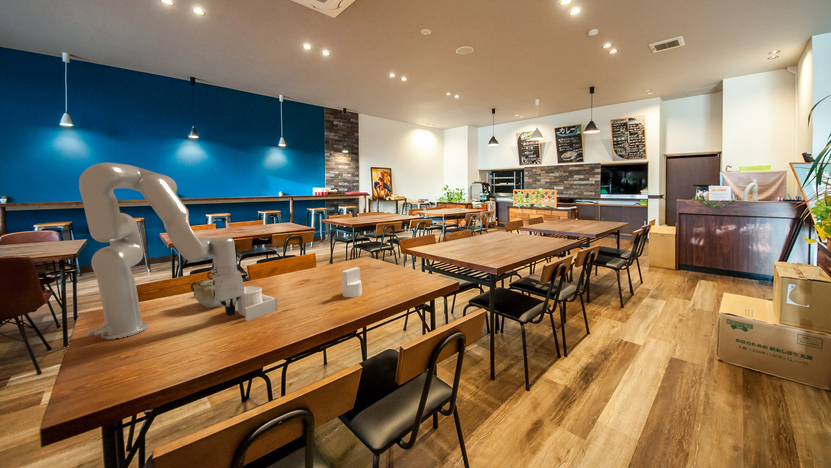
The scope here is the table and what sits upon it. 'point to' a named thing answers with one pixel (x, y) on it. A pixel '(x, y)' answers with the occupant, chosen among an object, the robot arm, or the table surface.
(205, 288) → the sugar bowl
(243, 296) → the cup
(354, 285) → the base with upright slab
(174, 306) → the table surface
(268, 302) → the box
